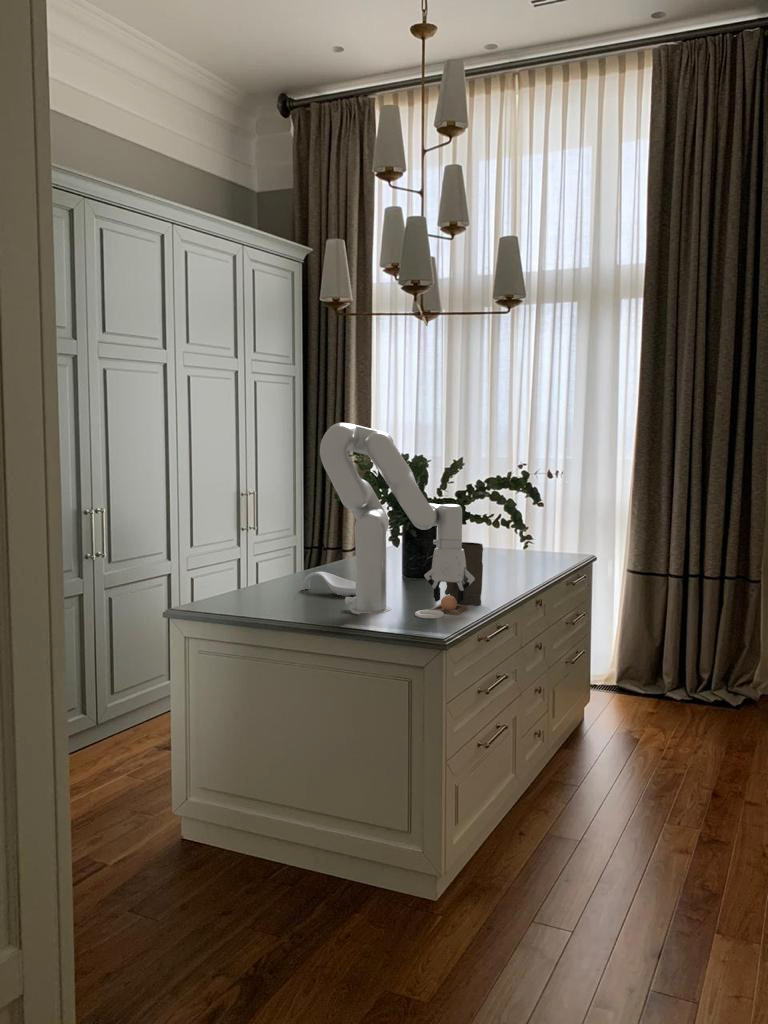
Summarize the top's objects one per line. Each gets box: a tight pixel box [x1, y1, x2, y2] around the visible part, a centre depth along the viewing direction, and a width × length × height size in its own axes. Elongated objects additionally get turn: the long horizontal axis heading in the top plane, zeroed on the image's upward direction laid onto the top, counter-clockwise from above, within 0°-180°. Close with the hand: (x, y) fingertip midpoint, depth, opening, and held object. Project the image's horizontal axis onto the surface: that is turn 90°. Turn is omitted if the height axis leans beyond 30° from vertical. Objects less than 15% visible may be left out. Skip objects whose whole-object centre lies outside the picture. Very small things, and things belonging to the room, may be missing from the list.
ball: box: [440, 594, 458, 610], centre depth 283 cm, size 5×5×5 cm
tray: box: [429, 603, 468, 616], centre depth 283 cm, size 9×9×2 cm
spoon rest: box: [300, 571, 356, 597], centre depth 318 cm, size 24×12×7 cm, turn 60°
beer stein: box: [444, 541, 484, 606], centre depth 297 cm, size 15×11×20 cm
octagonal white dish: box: [414, 609, 445, 619], centre depth 276 cm, size 8×8×2 cm
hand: (449, 601), depth 283 cm, fingers open, 7 cm apart
